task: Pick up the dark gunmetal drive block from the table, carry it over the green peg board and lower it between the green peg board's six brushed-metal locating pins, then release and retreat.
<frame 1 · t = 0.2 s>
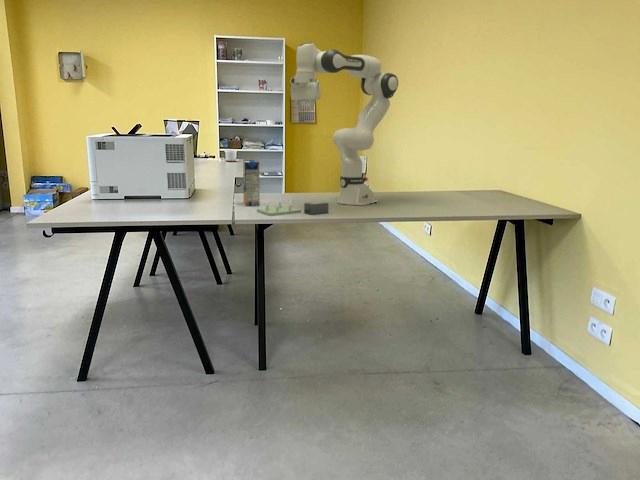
hand: (305, 110, 229), 47 cm above the table, fingers open, 8 cm apart
beverage box: (251, 204, 247), on the table
green peg board: (278, 212, 229), on the table
drive: (316, 213, 228), on the table
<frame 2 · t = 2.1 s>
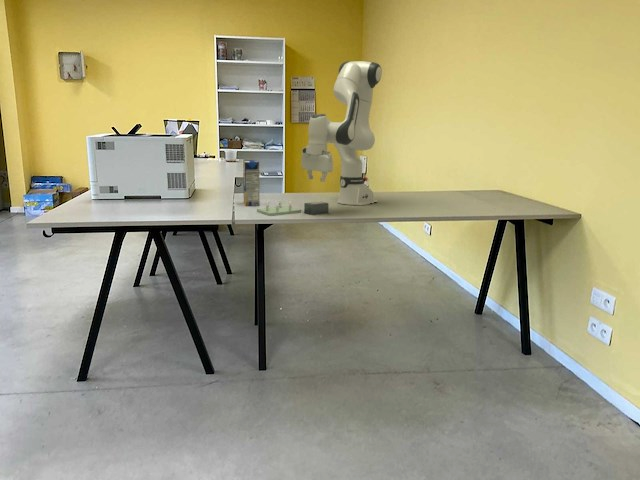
hand: (316, 180, 224), 16 cm above the table, fingers open, 8 cm apart
nothing on the table moved.
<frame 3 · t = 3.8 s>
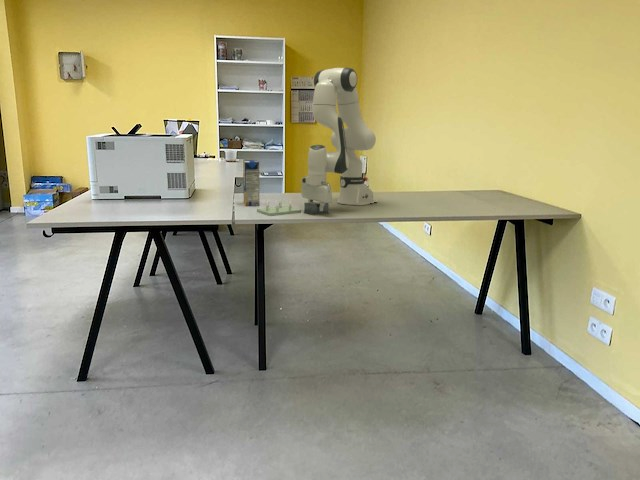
hand: (316, 209, 228), 2 cm above the table, fingers closed on drive, 6 cm apart
drive: (316, 213, 228), on the table, touching gripper
everything else where it was.
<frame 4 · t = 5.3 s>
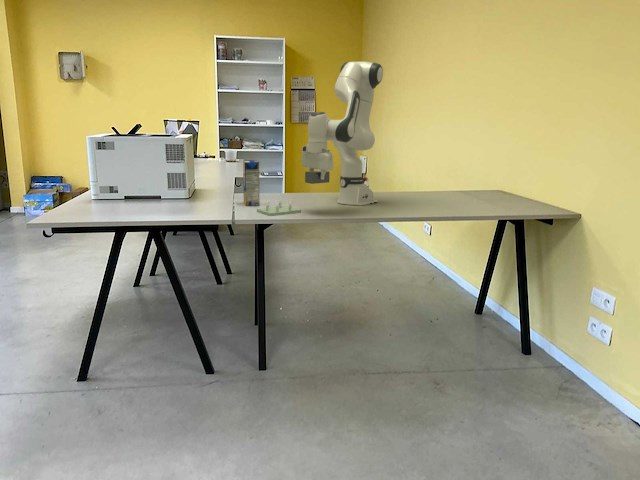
hand: (317, 178, 224), 16 cm above the table, fingers closed on drive, 6 cm apart
drive: (317, 182, 225), point 15 cm above the table, touching gripper
everything else where it was.
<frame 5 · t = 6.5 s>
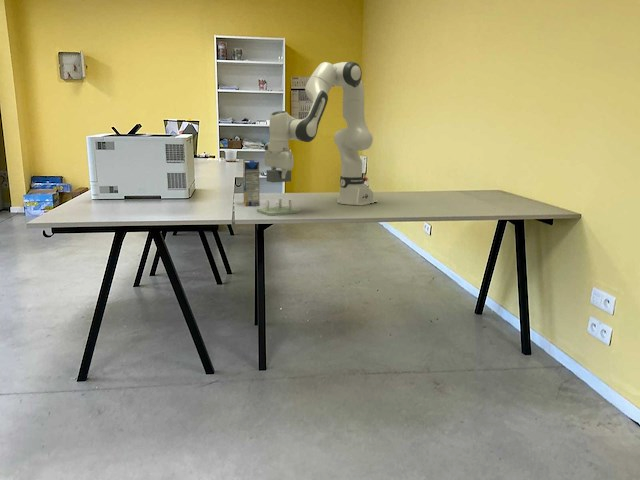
hand: (278, 177, 225), 16 cm above the table, fingers closed on drive, 6 cm apart
drive: (278, 181, 225), point 15 cm above the table, touching gripper
everything else where it was.
when the fingers open (4 cm above the table, at t = 8.7 s): drive drops 1 cm, resting on green peg board.
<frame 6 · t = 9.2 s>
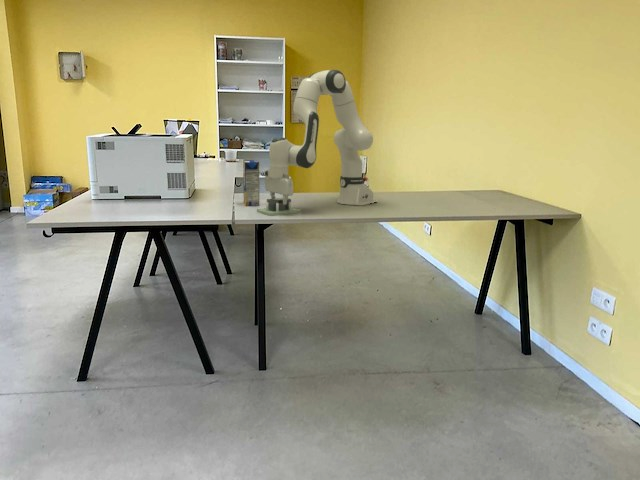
hand: (278, 202, 228), 4 cm above the table, fingers open, 8 cm apart
drive: (279, 209, 228), point 1 cm above the table, touching green peg board
everything else where it was.
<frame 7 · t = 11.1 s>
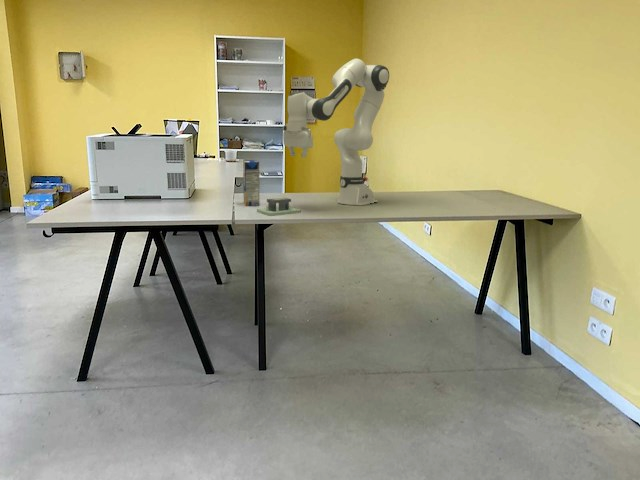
hand: (298, 156, 231), 26 cm above the table, fingers open, 8 cm apart
nothing on the table moved.
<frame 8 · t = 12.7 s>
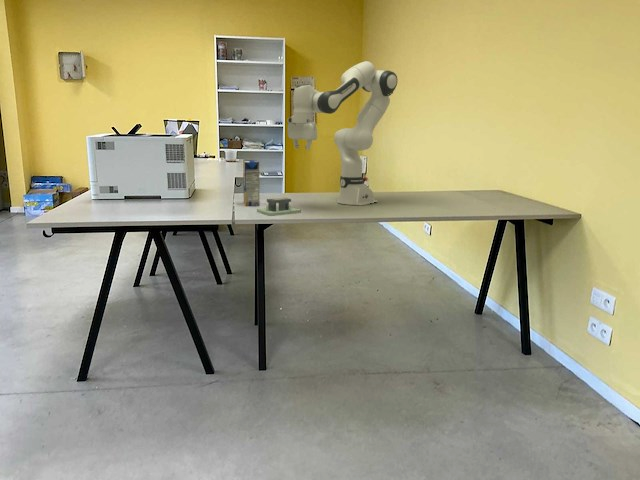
hand: (302, 148, 232), 29 cm above the table, fingers open, 8 cm apart
nothing on the table moved.
at the end: drive 0.1 cm off-centre on the green peg board, point 1.2 cm above the green peg board's base; drive tilted 0°; the gripper is holding nothing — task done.
